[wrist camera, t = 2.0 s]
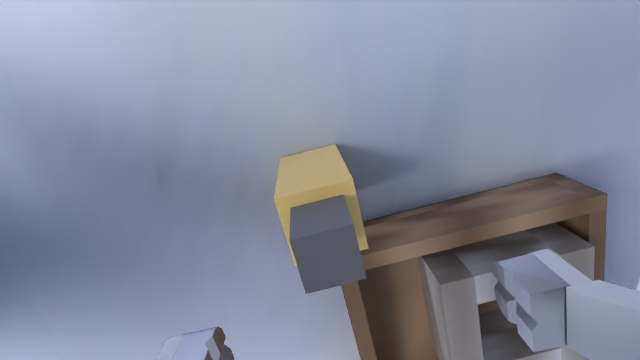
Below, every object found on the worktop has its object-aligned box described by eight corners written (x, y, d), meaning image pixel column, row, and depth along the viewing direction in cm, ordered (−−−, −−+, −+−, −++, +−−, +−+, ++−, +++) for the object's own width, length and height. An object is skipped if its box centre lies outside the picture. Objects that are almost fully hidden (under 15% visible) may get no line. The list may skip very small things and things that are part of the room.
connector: (294, 208, 23) (295, 309, 13) (280, 157, 22) (268, 230, 12) (347, 195, 23) (384, 287, 13) (335, 143, 22) (366, 205, 12)
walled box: (367, 378, 28) (382, 442, 23) (328, 230, 24) (337, 272, 19) (558, 331, 28) (612, 385, 23) (556, 172, 23) (622, 200, 19)
